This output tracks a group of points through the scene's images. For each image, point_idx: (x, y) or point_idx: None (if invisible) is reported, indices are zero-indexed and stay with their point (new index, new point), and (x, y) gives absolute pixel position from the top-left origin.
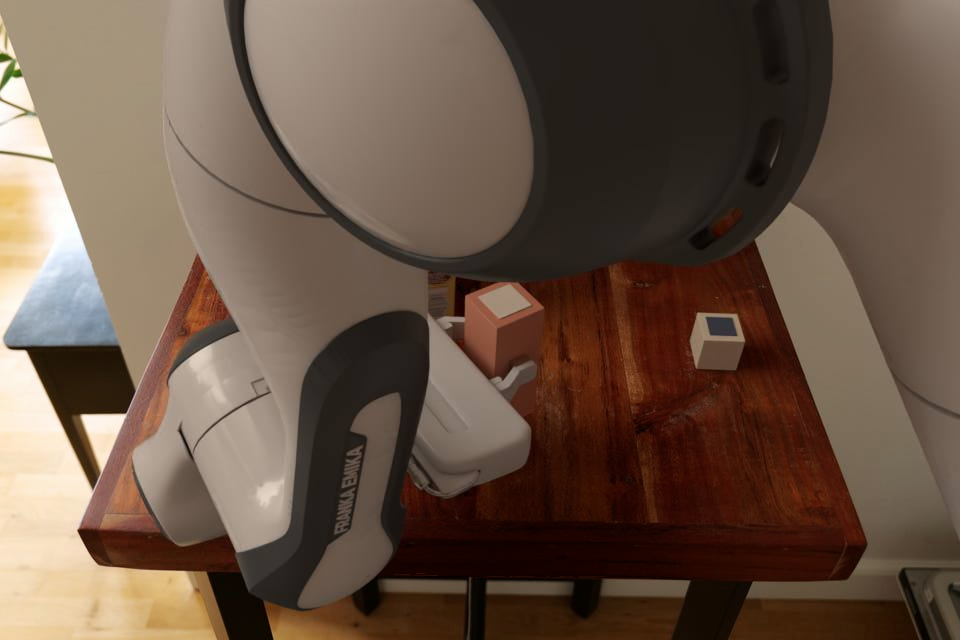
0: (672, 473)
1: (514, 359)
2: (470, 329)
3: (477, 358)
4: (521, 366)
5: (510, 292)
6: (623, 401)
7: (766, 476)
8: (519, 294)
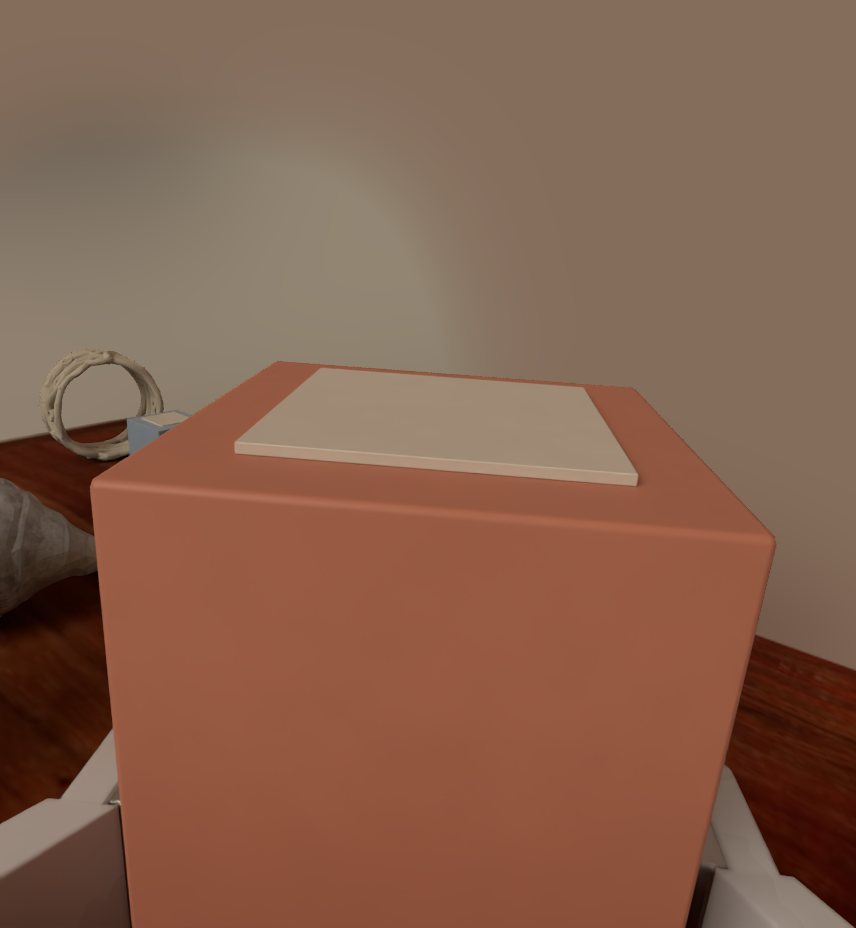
0: (799, 879)
1: None
2: (230, 840)
3: None
4: (736, 832)
5: (394, 382)
6: None
7: (846, 741)
8: (446, 380)
